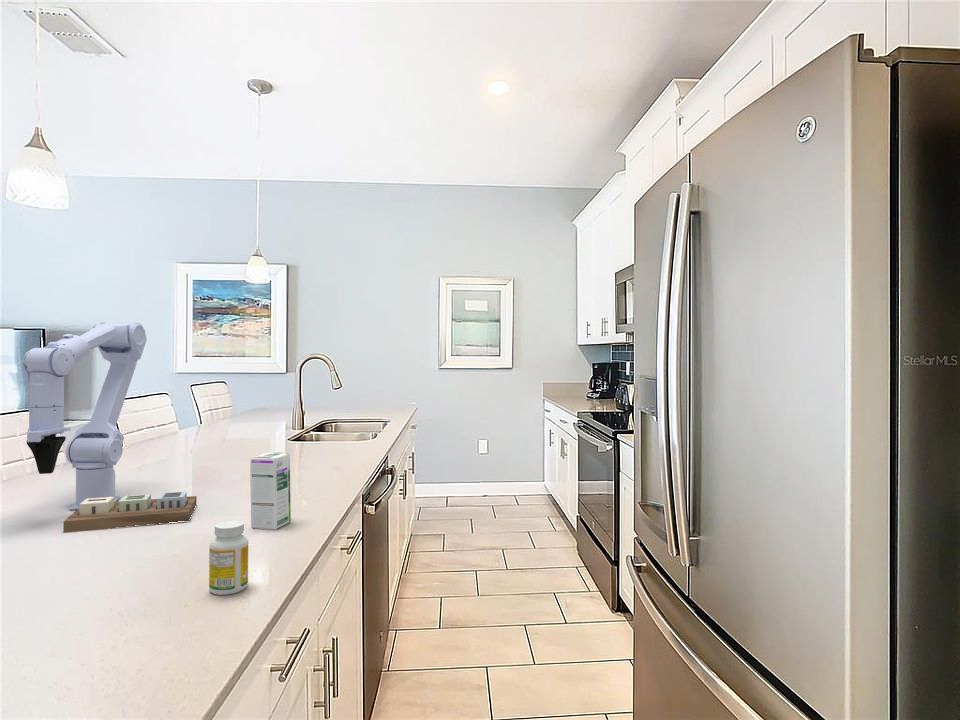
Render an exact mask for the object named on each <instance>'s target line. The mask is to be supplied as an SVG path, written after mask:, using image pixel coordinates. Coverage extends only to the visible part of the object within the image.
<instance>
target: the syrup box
mask: <svg viewBox="0 0 960 720" xmlns="http://www.w3.org/2000/svg"><path fill="white" fill-rule="evenodd" d="M249 461H250V462H249V464H250V467H249V468H250V469H249V472H250V473H249V474H250V475H249V476H250V527H251V528H252V529H258V530H270V531H271V530H272V531H273V530H274V531H277V530H278V529H279V528H281V527H284V526H286V525H287V524H289V523H291V521H292V520H291V519H292V517H291V516H292V515H291V513H292V512H291V509H292V507H291V505H292V503H291V455H290V453H288V452H265V453H262V454H259V455H256V456H252V457H250V458H249Z"/></svg>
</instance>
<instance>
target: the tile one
mask: <svg viewBox="0 0 960 720" xmlns="http://www.w3.org/2000/svg"><path fill="white" fill-rule="evenodd" d="M113 509H114V497H102V498H87V499H85V500H84V501H83V502H82V503H80V504H79V515H86V514H99V513H110V512H111V511H112V510H113Z"/></svg>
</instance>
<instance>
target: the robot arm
mask: <svg viewBox="0 0 960 720" xmlns="http://www.w3.org/2000/svg"><path fill="white" fill-rule="evenodd" d="M147 340H148V339H147V336H146V330H145V327H144V326H143V325H142V323H141V322H132V323H131V322H104V321H103V322H102V321H101V322H98V323H97V324H96V323H95V324H94V325H93V327H92V328H91V329H90V330H88V331H86V332H84V333H83V334H81V335H76V334H75V335H74V334H71V333H66V334H64V335H62V338H61V339H59V340H56V341H50V342H48V343H47V345H46V346H44V347H33V348H31V349H29V350H28V351H27V352H25V353H24V356H23V359H22V360H21V368H22V371H23V372H24V374H25V382H26V383H27V384H28V388H29V389H28V391H29V392H28V393H29V394H28V398H29V399H28V418H29V419H28V428H27V433H26V445H27V447H28V448H29V449H30V451H31V453H32V454H33V455H32V456H33V457H34V460H35V464H36V468H37V470H38V471H37V472H38V474H39V475H44V474H46V475H47V474H48V475H49V474H52V473H54V471H55V469H56V465H57V461H58V456H59V454H60V452H61V451H60V450H61V448H62V446H63V445H64V444H65V441H66V437H67V436H64V435H63V436H59V434H60V435H62V434H64V433H65V432H69V431H71V429H72V427H70V426H65V423H64V422H65V376H66V375H68V374H69V373H70V371H71V369H72V367H73V366H74V365H75V364H77V363H79V362H81V361H83V360H84V359H86V358H87V357H89V355H90V351H91V350H94V349H95V348H97V349H98V350H99V352H100V354H101V356H102V359H104V361H105V360H106V361H108V362H109V363H110V365H109V368H108V371H107V373H106V377H105V379H104V382H103V385H102V387H101V390H100V393H99V395H98V397H97V401H96V404H95V407H94V409H93V413H92V415H91V418H90V421H89V422H88V423H86V424H85V425H83V426H81V427H79V428H78V429H77V430H75V433H74V436H73V437H72V438H71V440H70V441H69V442H68V444H67V446H66V447H65V448H66V449H65V457H66V460H67V461H68V463H70V464H71V465H72V466H71V467H72V468H73V469H75V503H74V504H73V505H71V506H70V507H68V508H69V510H70V511H71V510H74V511H76V510H78V509H79V504H80V503H82V502H83V501H84V500H85V499H87V498H102V497H114V502H118V500H120V498H121V496H120V495H116V471H115V469H114V466H115V465H117V463H118V462H119V461H120V459H121V458H122V455H123V444H124V439H125V436H124V434H123V433H122V431H120V430H119V429H118V428H117V427H116V426H117V424H118V420H119V419H120V414H121V412H122V408H123V405H124V403H125V400H126V396H127V394H128V391H129V388H130V385H131V382H132V378H133V376H134V372H135V370H136V366H137V364H138V363H137V362H138V361H140V360H141V359H142V356H143V351H144V349H145V346H146V343H147ZM57 435H58V436H57Z"/></svg>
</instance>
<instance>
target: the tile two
mask: <svg viewBox="0 0 960 720" xmlns="http://www.w3.org/2000/svg"><path fill="white" fill-rule="evenodd" d="M151 499H152V494H151V493H149V494H146V493H145V494H135V495H124V496H123V497H122V498H121V499H119V512H126V511H139V510H149V508H150V507H151Z"/></svg>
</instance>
